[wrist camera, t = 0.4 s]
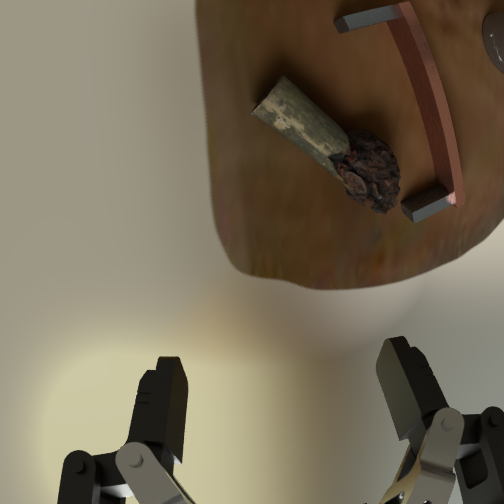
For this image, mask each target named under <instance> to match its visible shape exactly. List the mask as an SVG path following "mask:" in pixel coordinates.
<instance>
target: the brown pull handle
mask: <svg viewBox="0 0 504 504" xmlns="http://www.w3.org/2000/svg"><path fill="white" fill-rule="evenodd" d="M333 22H334V24H335V26H336V28H337V30H338V32H339V34H341V33H344V32H348V31H351V30H355V29H358V28H362V27H366V26H369V25H373V24H377V23H381V22H387V24H388V26H389V28H390V30H391V33H392V35H393V37H394V39H395V42H396V44H397V47H398V49H399V51H400V54H401V56H402V59H403V62H404V64H405V67H406V69H407V72H408V75H409V78H410V81H411V83H412V86H413V89H414V92H415V95H416V99H417V102H418V105H419V108H420V112H421V115H422V119H423V122H424V126H425V130H426V133H427V137H428V141H429V145H430V150H431V154H432V158H433V163H434V168H435V173H436V178H437V184H438V185H437V186H434V187H432V188H430V189H428V190H426V191H424V192H422V193H420V194H418V195H416V196H413V197H411V198H409V199H407V200H405V201H403V202H401V206H402V211H403V213H404V214H405V215H406V216H407V217H408V218H409V219H410V220H411V221H412V222H413V223H416V222H418V221H420V220H422V219H424V218H426V217H428V216H430V215H432V214H434V213H436V212H438V211H440V210H442V209H444V208H446V207H448V206H450V205H454V206H455V207H456V208H457V207H459V206H461V205H463V204H465V195H464V187H463V179H462V172H461V166H460V159H459V154H458V148H457V143H456V138H455V133H454V129H453V124H452V120H451V116H450V112H449V108H448V104H447V100H446V97H445V93H444V90H443V86H442V83H441V80H440V76H439V73H438V70H437V67H436V64H435V61H434V58H433V56H432V53H431V50H430V48H429V45H428V42H427V40H426V37H425V35H424V32H423V30H422V28H421V25H420V23H419V21H418V18H417V16H416V14H415V12H414V9H413V7H412V5H411V3H410V1H408V2H402V3H397V4H394V5H390V6H385V7H380V8H375V9H371V10H367V11H363V12H358V13H355V14H351V15H347V16H343V17H341V18H339V19H337V20H335V21H333Z"/></svg>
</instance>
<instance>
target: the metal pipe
mask: <svg viewBox="0 0 504 504" xmlns="http://www.w3.org/2000/svg"><path fill="white" fill-rule="evenodd" d="M251 114H252V115H254V116H256V117H258V118H259V119H261V120H262V121H263V122H265V123H266V124H268V125H269V126H271V127H272V128H273V129H275V130H276V131H277V132H279V133H280V134H282V135H283V136H284V137H286V138H287V139H288V140H289V141H291V142H292V143H293V144H295V145H296V146H297V147H299V148H300V149H301V150H303V151H304V152H305V153H306V154H308V155H309V156H310V157H312V158H313V159H314V160H315V161H317V162H318V163H319V164H320V165H321V166H323V167H324V168H325V169H326V170H328V172H330V173H331V174H332V175H333V176H334V177H336V178H337V179H338V180H339V181H340V182H341V183H342V184H343V185H344V186H345V188H346V189H347V191H346V193H347V195H348V196H349V197H350V198H351V199H353V200H356V201H357V202H359V203H360V204H361V205H363V206H364V205H366V206H367V205H368V206H370V207H371V208H372V210H373V211H374V212H380V213H381V214H382V215H385V214H386V213H387V210H390V209H391V208H392V207H393V208H394V207H395V205H396V204H397V198H396V197H397V196H398V194H399V192H400V187H398V182H399V180H400V178H401V177H400V172H399V171H400V170H399V168H398V165H397V160H396V157H395V156H394V155H393V153H392V151H391V150H390V147H389V146H388V145H387V143H385V142H384V141H382V140H380V139H379V138H378V137H377V136H376V135H374V134H373V133H371V132H370V131H365V130H356V129H349V130H347V131H343V130H342V129H341V128H340V127H339V126H338V125H337V124H336V123H335V122H334V121H333V120H332V119H331V118H330V117H329V116H328V115H327V114H326V113H324V112H323V111H322V110H321V109H320V108H319V107H318V106H317V105H316V104H314V103H313V102H312V101H311V100H310V99H309V98H308V97H307V96H306V95H305V94H304V93H303V92H302V91H301V90H300V89H299V88H297V87H296V86H295V85H294V84H293V83H292V82H291V81H290V80H288V79H287V78H286V77H285V76H284V75H283V76H282V77H280V78H279V79H278V80H277V81H276V82H275V83H274V84H273V85H272V87H271V88H269V89H268V91H267V92H266V93H265V95H264V96H263V97H262V98H261V99H260V100H259V102H258V103H257V105H256V106H255V107H254V109H253V111H252V112H251Z"/></svg>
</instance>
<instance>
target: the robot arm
mask: <svg viewBox="0 0 504 504" xmlns="http://www.w3.org/2000/svg"><path fill="white" fill-rule="evenodd" d="M483 38H484V43H485V47H486V49H487V52H488V54H489V56H490V58H491V60H492V62H493V63H494V65H495V66H496V67H497V68H498V69H499V70H500V71H501V72H503V73H504V13H491V14H489V15H488V16H487V17H486V18H485V20H484V23H483ZM376 372H377V376H378V379H379V382H380V384H381V387H382V390H383V393H384V396H385V399H386V402H387V404H388V407H389V410H390V413H391V416H392V419H393V422H394V425H395V428H396V431H397V434H398V438H399V441H400V440H404V439H409V442H410V444H409V446H408V448H407V451H406V454H405V456H404V458H403V460H402V463H401V465H400V467H399V470H398V472H397V474H396V477H395V479H394V481H393V483H392V485H391V486H390V487H389V489H388V490H387V491H386V493H385V494H384V496H383V498H382V499H381V501H380V503H379V504H447V503H448V501H449V498H450V495H451V492H452V490H453V487H454V484H455V480H456V475H457V479H458V483H459V487H460V491H461V496H462V500H463V504H504V412H503V411H502V410H501V409H500V408H498V407H493V406H492V407H488V408H486V409H485V410H484V411H483V412H482V413H481V414H469V415H464V414H461V413H460V412H459V411H457V410H456V409H454V408H450V407H449V405H448V404H447V402H446V399H445V397H444V395H443V393H442V391H441V388H440V386H439V384H438V382H437V380H436V378H435V376H434V375H433V372H432V369H431V368H430V367H429V363H428V361H427V359H426V357H425V355H424V354H423V353H422V352H421V351H420V350H419V349H418V348H416V347H410V346H409V344H408V342H407V340H406V338H405V337H404V336H399V337H394V338H389V339H386V340H385V341H384V343H383V346H382V349H381V352H380V354H379V357H378V359H377V363H376ZM137 393H138V394H137V395H136V400H135V405H134V409H133V414H132V419H131V425H130V430H129V435H128V439H127V441H126V443H125V444H124V445H123V446H122V447H121V448H120V449H119V450H117V451H115V452H112V453H106V454H100V455H93V456H91V455H90V454H89V453H87V452H85V451H82V450H76V451H73V452H71V453H69V454H68V455H67V457H66V458H65V460H64V463H63V469H62V475H61V481H60V487H59V494H58V502H57V504H125V502H126V501H125V500H126V497H129V496H135V497H136V499H137V500H138V502H139V504H196V503H195V502H194V501H193V499H192V498H191V497H190V496H189V494H188V493H187V492H186V491H185V489H184V488H183V487H182V485H181V484H180V483H179V482H178V480H177V479H176V478H175V476H174V475H173V468H174V464H182V456H183V444H184V432H185V420H186V409H187V399H188V381H187V377H186V374H185V372H184V370H183V366H182V363H181V361H180V358H179V357H159V358H158V362H157V366H156V370H147V371H146V373H145V374H144V375H143V377H142V378H141V379H140V382H139V386H138V391H137ZM453 467H454V468H455V471H456V475H455V473H453ZM365 504H367V503H365Z"/></svg>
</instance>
